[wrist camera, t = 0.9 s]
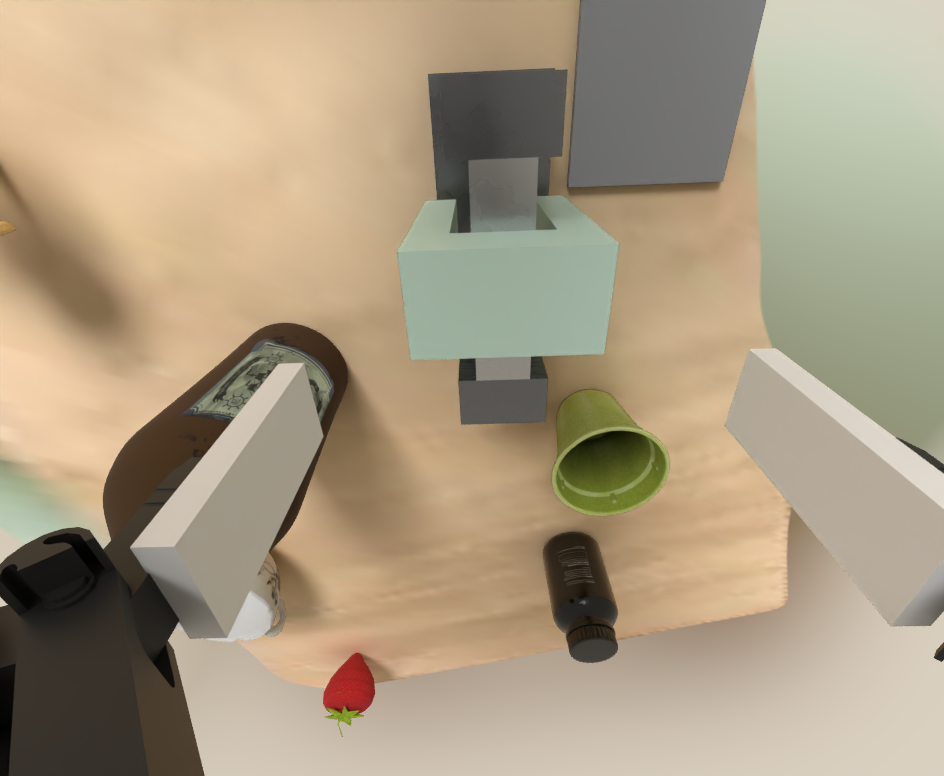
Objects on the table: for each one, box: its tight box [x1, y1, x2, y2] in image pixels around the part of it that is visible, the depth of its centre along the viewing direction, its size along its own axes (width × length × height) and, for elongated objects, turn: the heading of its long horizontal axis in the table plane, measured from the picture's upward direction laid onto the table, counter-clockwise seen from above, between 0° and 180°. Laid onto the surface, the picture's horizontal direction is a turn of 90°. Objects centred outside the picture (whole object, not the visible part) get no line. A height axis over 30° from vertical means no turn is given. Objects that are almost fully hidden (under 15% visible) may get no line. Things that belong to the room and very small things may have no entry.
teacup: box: [175, 552, 286, 642], centre depth 51 cm, size 15×12×8 cm
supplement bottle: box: [543, 532, 618, 663], centre depth 48 cm, size 7×7×12 cm
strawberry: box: [323, 653, 375, 737], centre depth 62 cm, size 6×8×10 cm
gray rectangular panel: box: [567, 0, 766, 187], centre depth 29 cm, size 11×11×1 cm
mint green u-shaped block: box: [397, 195, 619, 360], centre depth 25 cm, size 5×9×13 cm, turn 92°
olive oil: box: [103, 323, 347, 552], centre depth 30 cm, size 11×11×25 cm
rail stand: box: [428, 68, 567, 424], centre depth 28 cm, size 19×8×14 cm, turn 2°
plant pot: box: [552, 389, 670, 516], centre depth 39 cm, size 9×9×9 cm
